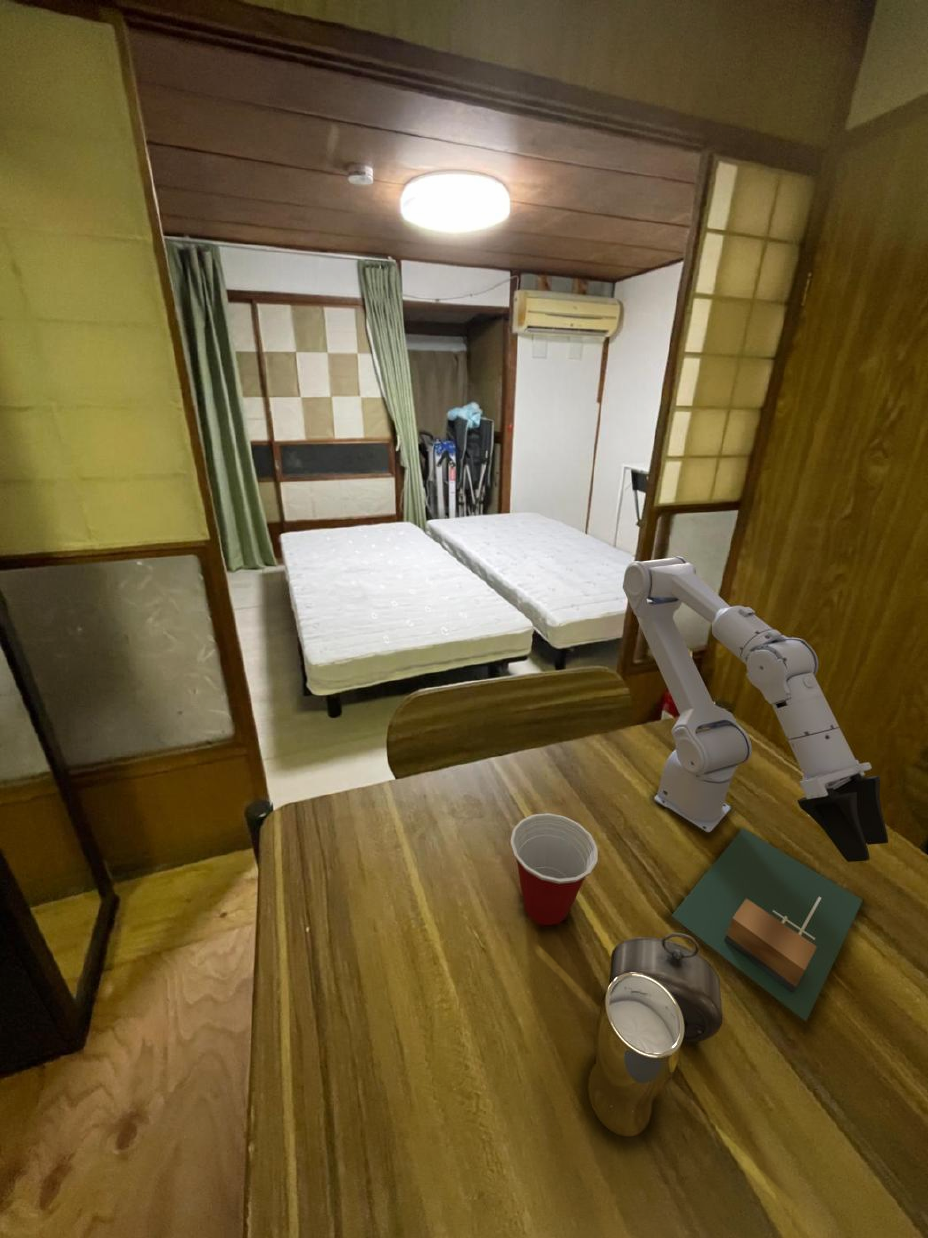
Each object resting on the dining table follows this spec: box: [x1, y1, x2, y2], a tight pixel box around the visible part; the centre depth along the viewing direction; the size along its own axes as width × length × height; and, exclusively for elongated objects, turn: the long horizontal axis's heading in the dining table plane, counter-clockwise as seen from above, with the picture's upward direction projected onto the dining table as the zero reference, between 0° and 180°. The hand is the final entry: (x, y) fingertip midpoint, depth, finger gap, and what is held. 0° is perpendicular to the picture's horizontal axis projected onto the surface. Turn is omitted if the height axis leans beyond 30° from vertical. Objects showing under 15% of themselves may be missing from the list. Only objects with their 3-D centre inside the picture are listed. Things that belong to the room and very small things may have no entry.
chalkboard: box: [671, 827, 864, 1022], centre depth 69 cm, size 16×22×1 cm
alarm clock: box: [608, 932, 724, 1043], centre depth 53 cm, size 11×5×16 cm, turn 71°
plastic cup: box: [510, 812, 599, 927], centre depth 66 cm, size 11×11×12 cm
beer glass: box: [587, 973, 684, 1137], centre depth 48 cm, size 7×7×15 cm
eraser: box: [724, 898, 817, 993], centre depth 62 cm, size 8×4×4 cm, turn 41°
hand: (868, 851), depth 58 cm, fingers open, 7 cm apart
